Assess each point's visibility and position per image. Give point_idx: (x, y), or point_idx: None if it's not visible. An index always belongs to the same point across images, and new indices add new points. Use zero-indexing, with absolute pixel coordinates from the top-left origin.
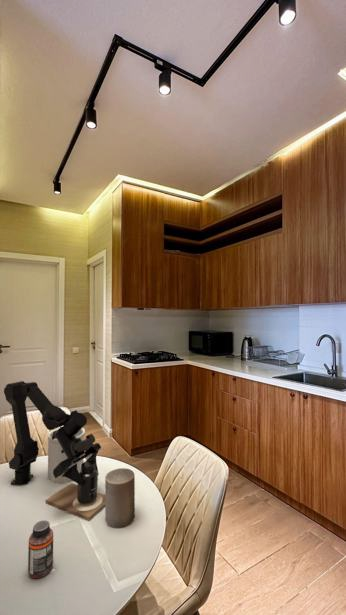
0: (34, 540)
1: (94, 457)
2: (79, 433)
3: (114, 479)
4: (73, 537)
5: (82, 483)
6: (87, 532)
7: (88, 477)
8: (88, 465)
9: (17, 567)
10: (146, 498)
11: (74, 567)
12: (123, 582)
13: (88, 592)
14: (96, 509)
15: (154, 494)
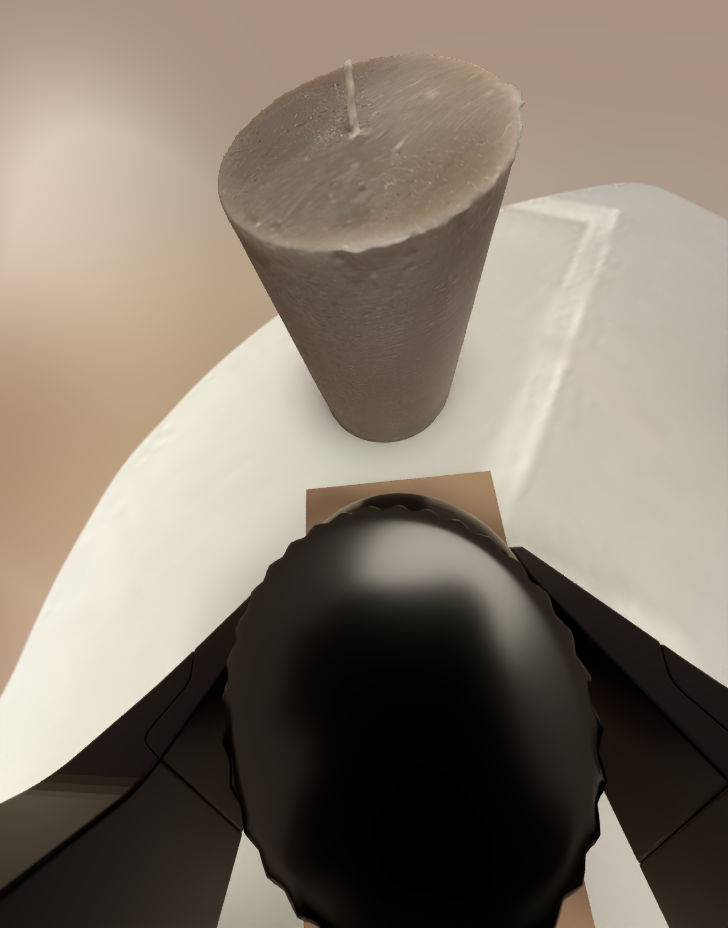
0: None
1: (42, 820)
2: None
3: (452, 111)
4: (601, 452)
5: (540, 560)
6: (534, 427)
7: (479, 524)
8: (450, 616)
9: None
10: (239, 386)
11: (679, 333)
12: (580, 214)
13: (685, 244)
14: (424, 484)
15: (205, 378)
